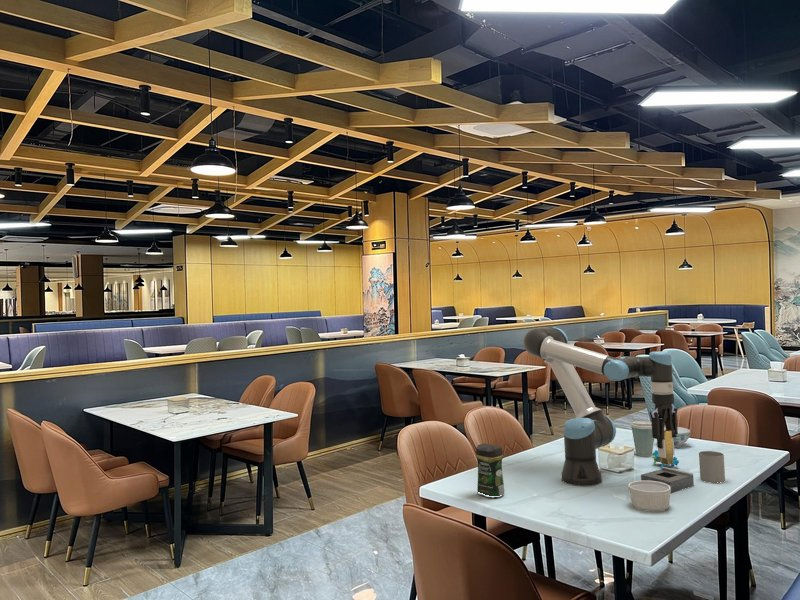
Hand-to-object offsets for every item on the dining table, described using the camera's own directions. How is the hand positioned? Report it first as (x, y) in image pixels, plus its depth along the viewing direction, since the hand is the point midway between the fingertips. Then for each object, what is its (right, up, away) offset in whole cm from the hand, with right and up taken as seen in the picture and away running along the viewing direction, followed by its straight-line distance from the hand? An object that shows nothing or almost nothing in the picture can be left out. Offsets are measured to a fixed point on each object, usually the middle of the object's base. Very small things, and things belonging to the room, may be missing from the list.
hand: (666, 455), depth 216 cm
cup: (+20, -11, +5) cm, 23 cm away
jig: (0, -11, 0) cm, 11 cm away
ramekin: (-15, -12, -21) cm, 28 cm away
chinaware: (+30, -11, +59) cm, 67 cm away
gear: (+11, -12, +25) cm, 30 cm away
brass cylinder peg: (0, -3, 0) cm, 3 cm away
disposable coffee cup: (+11, -12, +45) cm, 47 cm away
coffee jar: (-66, -14, -2) cm, 67 cm away
